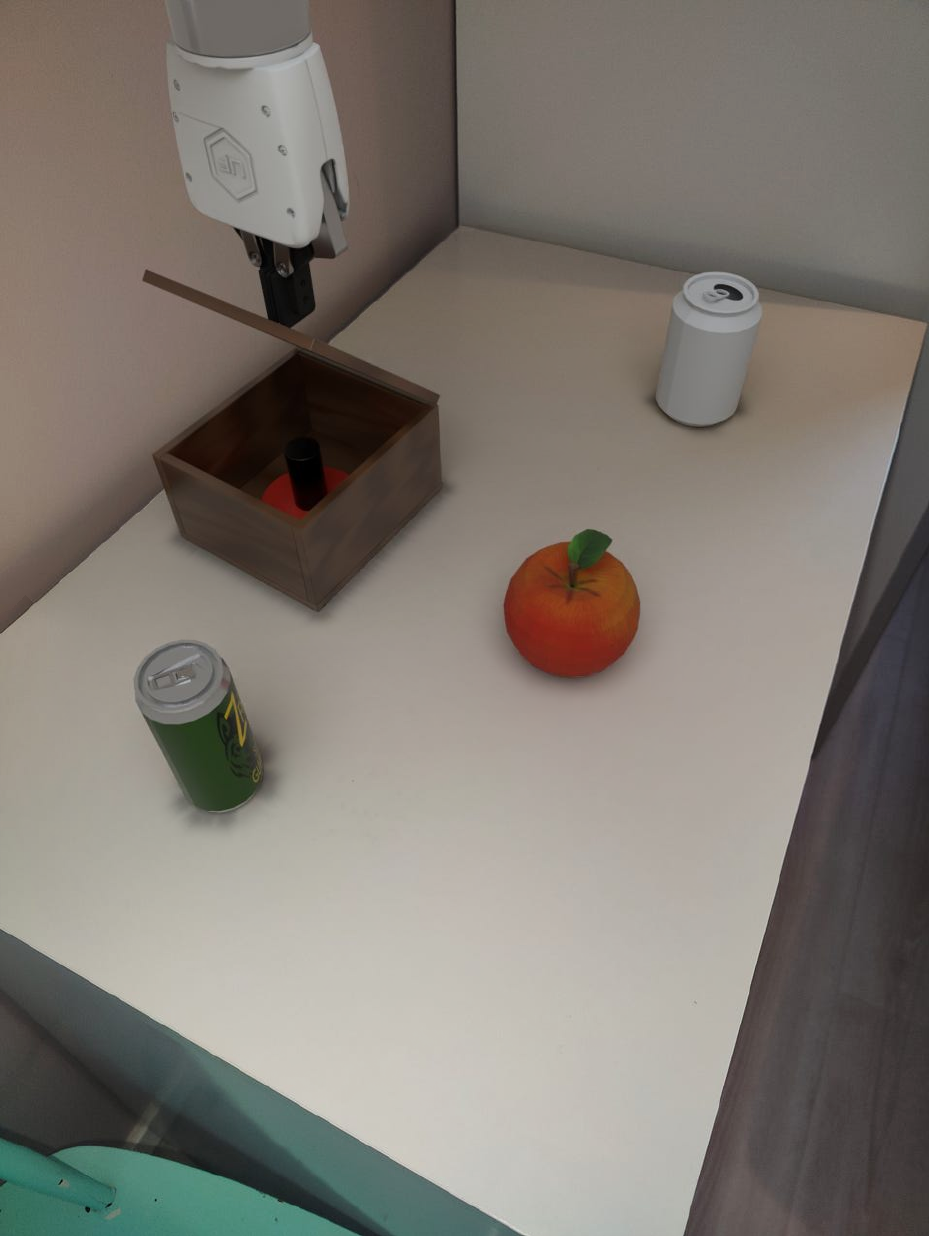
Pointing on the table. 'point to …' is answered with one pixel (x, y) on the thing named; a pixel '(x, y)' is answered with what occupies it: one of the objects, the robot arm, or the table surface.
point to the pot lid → (302, 479)
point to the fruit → (572, 607)
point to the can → (708, 348)
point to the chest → (254, 458)
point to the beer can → (199, 724)
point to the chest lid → (288, 335)
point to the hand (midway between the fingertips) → (292, 316)
